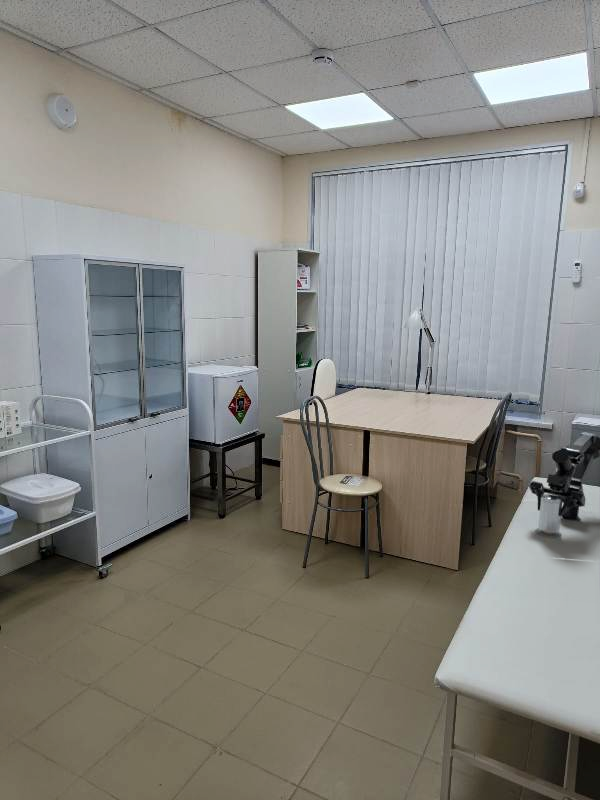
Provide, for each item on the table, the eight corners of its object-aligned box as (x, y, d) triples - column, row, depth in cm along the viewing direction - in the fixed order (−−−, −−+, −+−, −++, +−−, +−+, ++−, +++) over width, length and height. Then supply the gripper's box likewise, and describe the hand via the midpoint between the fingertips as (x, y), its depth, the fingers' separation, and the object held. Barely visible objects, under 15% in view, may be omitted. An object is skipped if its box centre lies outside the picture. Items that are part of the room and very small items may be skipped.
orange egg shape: (542, 530, 205) (543, 520, 205) (551, 531, 205) (552, 521, 204) (544, 534, 202) (545, 524, 201) (554, 534, 202) (555, 524, 201)
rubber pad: (532, 528, 209) (532, 526, 209) (557, 530, 207) (557, 528, 207) (538, 538, 200) (538, 537, 200) (564, 540, 199) (564, 538, 198)
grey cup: (538, 523, 208) (541, 493, 206) (559, 526, 205) (562, 496, 203) (538, 530, 202) (541, 499, 199) (559, 534, 199) (562, 502, 196)
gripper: (533, 460, 208) (518, 495, 202) (586, 471, 195) (571, 509, 190) (539, 475, 215) (525, 510, 209) (591, 487, 202) (577, 524, 197)
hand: (548, 513), depth 201 cm, fingers closed on grey cup, 7 cm apart
